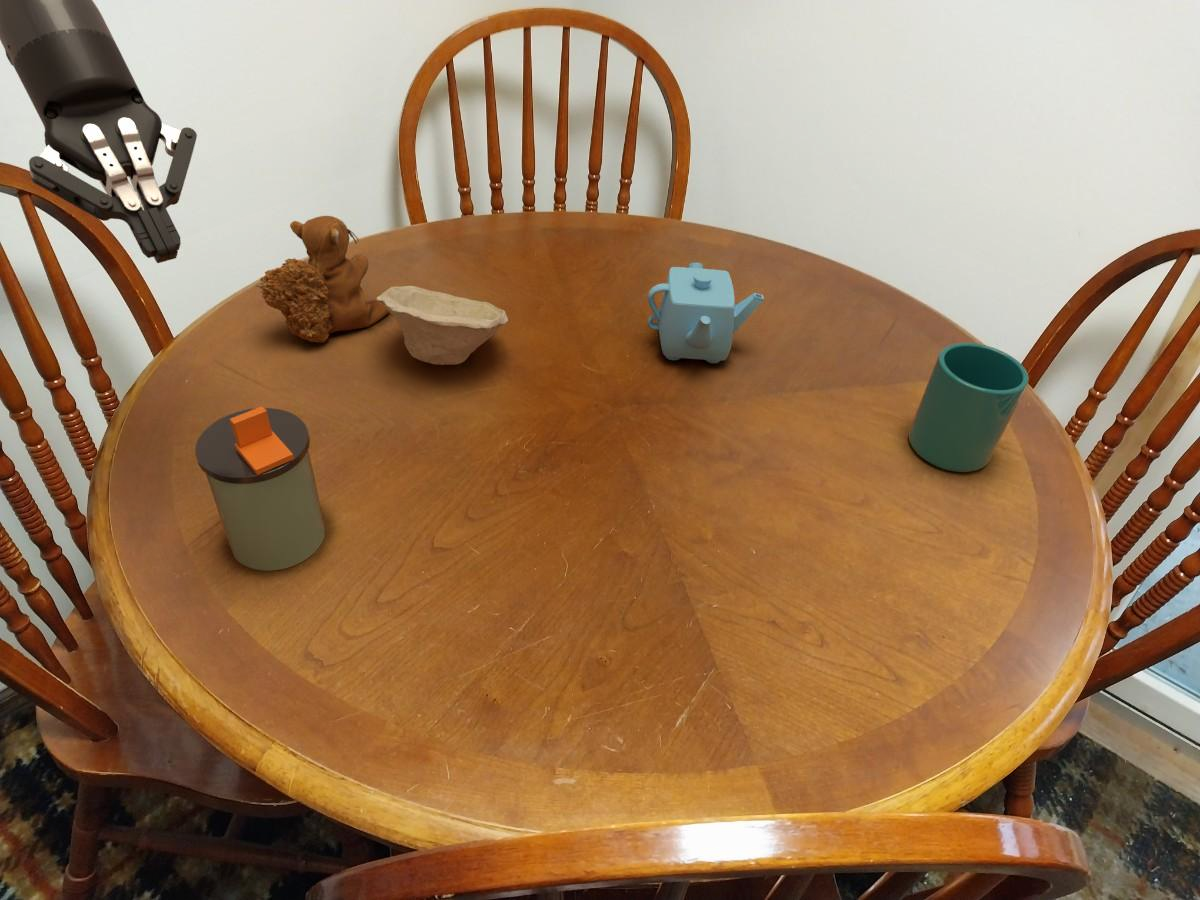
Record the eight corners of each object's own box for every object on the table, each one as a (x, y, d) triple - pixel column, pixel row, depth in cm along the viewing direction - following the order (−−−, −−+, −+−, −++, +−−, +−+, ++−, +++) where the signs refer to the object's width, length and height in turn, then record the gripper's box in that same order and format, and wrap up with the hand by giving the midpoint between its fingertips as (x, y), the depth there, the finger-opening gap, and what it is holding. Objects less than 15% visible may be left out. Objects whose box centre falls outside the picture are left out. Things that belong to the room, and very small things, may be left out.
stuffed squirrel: (396, 310, 109) (386, 214, 101) (322, 364, 99) (303, 264, 91) (334, 288, 112) (319, 194, 104) (257, 338, 102) (233, 239, 94)
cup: (973, 411, 101) (1009, 332, 93) (998, 479, 92) (1040, 397, 84) (896, 403, 101) (926, 323, 94) (914, 469, 92) (948, 387, 85)
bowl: (529, 344, 105) (530, 272, 99) (470, 405, 96) (466, 330, 89) (427, 311, 110) (421, 240, 103) (360, 365, 100) (349, 291, 93)
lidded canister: (210, 530, 79) (176, 433, 71) (300, 489, 84) (278, 394, 76) (253, 589, 74) (222, 492, 66) (346, 542, 79) (327, 446, 71)
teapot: (642, 305, 114) (649, 236, 107) (745, 313, 114) (759, 245, 108) (642, 385, 100) (651, 312, 94) (760, 394, 101) (777, 321, 94)
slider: (235, 449, 70) (226, 419, 68) (272, 434, 72) (264, 404, 70) (257, 475, 68) (248, 445, 66) (294, 459, 70) (287, 429, 68)
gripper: (-38, 38, 60) (79, 264, 61) (155, 14, 67) (255, 218, 68) (-27, 93, 66) (79, 297, 67) (148, 66, 73) (241, 251, 74)
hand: (168, 257), depth 68 cm, fingers closed
